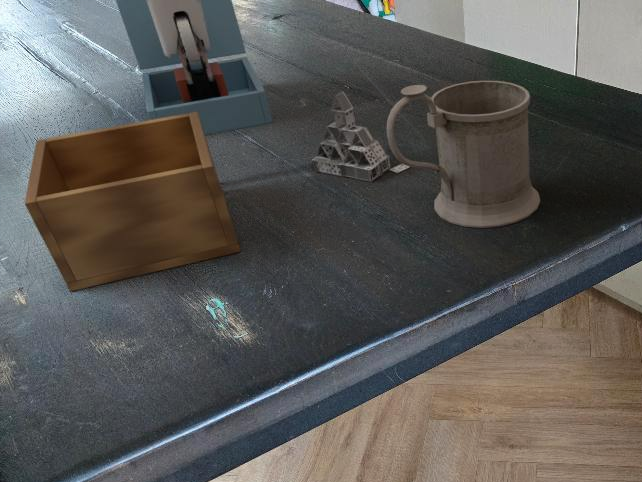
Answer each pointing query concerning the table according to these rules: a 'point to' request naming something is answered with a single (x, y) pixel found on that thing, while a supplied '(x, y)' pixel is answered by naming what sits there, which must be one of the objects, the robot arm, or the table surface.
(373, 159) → the house of cards
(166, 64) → the lid
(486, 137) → the mug
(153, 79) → the box
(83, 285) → the open wooden crate
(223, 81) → the block
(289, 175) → the table surface
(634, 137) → the table surface
